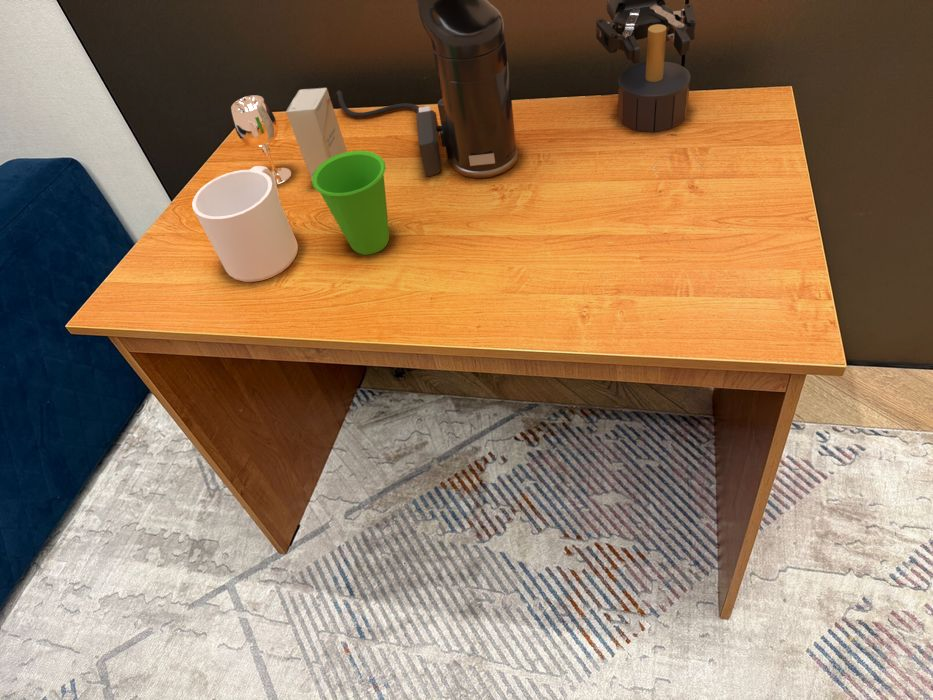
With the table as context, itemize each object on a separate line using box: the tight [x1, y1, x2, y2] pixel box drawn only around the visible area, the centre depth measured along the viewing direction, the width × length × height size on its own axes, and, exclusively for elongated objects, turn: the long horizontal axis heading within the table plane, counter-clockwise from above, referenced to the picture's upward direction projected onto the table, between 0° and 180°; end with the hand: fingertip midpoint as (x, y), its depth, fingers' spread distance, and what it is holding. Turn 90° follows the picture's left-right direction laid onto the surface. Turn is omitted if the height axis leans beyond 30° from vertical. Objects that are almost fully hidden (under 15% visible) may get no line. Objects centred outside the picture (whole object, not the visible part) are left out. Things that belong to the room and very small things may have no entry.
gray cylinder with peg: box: [617, 24, 691, 133], centre depth 97 cm, size 10×10×13 cm
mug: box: [191, 165, 299, 283], centre depth 90 cm, size 13×10×10 cm
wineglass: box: [230, 94, 292, 186], centre depth 101 cm, size 6×6×12 cm
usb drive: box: [416, 105, 442, 178], centre depth 102 cm, size 5×12×3 cm
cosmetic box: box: [285, 87, 348, 181], centre depth 99 cm, size 6×4×12 cm
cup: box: [311, 150, 390, 256], centre depth 87 cm, size 9×9×11 cm
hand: (660, 52), depth 93 cm, fingers open, 5 cm apart
